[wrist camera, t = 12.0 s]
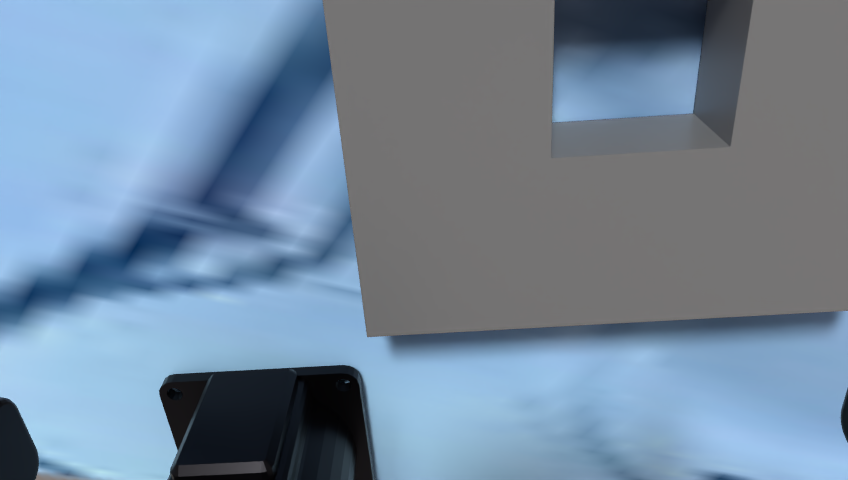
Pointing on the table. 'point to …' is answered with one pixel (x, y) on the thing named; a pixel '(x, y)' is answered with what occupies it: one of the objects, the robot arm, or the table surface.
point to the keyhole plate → (588, 171)
